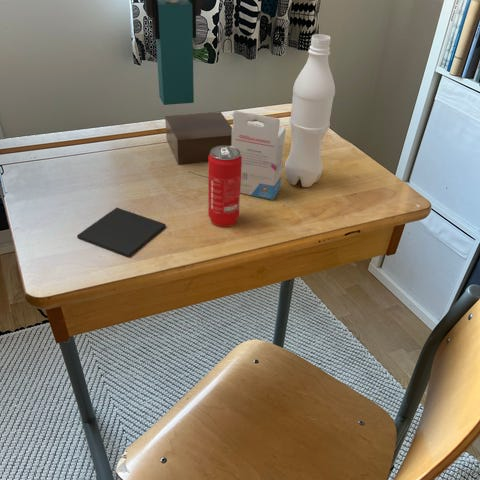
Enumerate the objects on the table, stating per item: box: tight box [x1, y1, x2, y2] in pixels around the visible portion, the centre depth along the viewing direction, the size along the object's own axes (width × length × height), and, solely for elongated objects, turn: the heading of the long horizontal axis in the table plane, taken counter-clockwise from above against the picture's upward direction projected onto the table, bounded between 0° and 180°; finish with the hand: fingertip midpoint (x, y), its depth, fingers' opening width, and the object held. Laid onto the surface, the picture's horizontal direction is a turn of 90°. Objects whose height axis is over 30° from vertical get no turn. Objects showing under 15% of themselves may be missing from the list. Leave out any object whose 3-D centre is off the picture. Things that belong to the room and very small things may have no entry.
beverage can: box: [207, 146, 242, 228], centre depth 83 cm, size 5×5×12 cm
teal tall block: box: [155, 0, 195, 106], centre depth 95 cm, size 19×6×4 cm
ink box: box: [231, 110, 287, 201], centre depth 90 cm, size 8×5×15 cm, turn 70°
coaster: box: [76, 207, 167, 258], centre depth 83 cm, size 10×10×1 cm
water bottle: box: [284, 33, 336, 188], centre depth 90 cm, size 7×7×25 cm
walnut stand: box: [164, 111, 233, 165], centre depth 105 cm, size 12×12×5 cm
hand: (174, 36), depth 94 cm, fingers closed on teal tall block, 6 cm apart
